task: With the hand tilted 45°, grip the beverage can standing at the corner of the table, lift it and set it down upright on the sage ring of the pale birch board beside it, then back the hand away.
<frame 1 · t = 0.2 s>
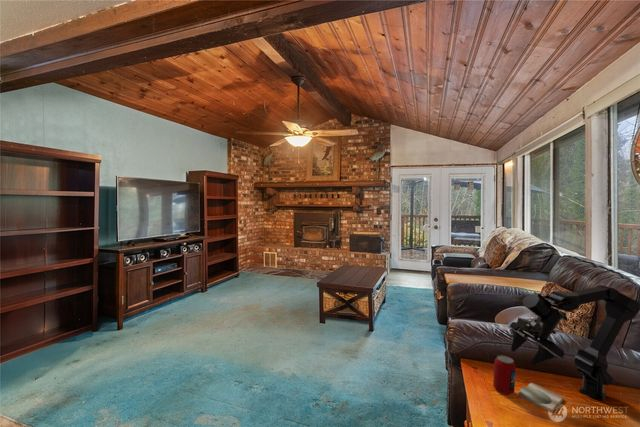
hand: (521, 357, 106), 14 cm above the table, tool tilted 35°, fingers open, 9 cm apart
beverage can: (503, 390, 109), on the table
birch board: (540, 397, 105), on the table
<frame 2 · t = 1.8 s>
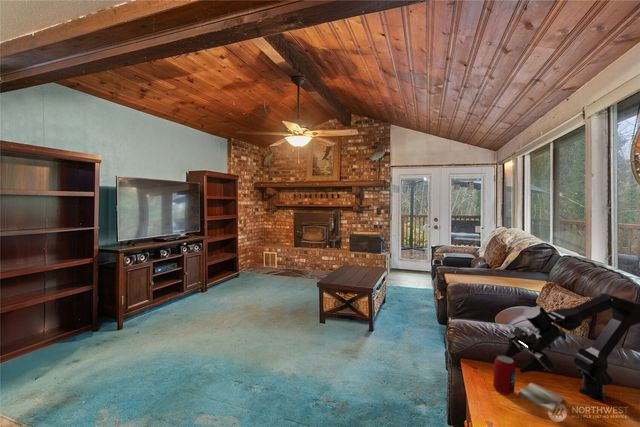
hand: (512, 364, 109), 10 cm above the table, tool tilted 45°, fingers open, 9 cm apart
nothing on the table moved.
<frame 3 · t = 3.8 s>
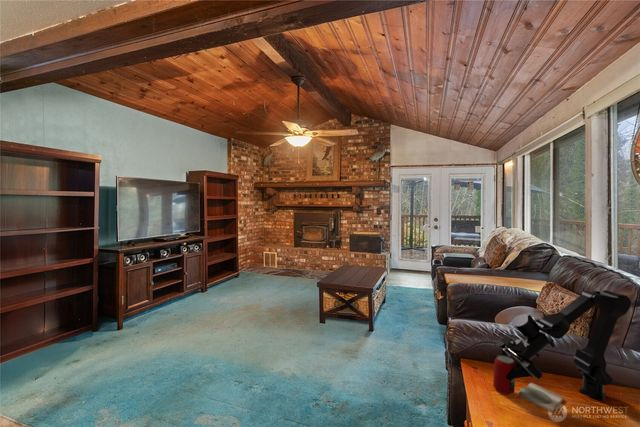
hand: (500, 372, 109), 7 cm above the table, tool tilted 45°, fingers closed on beverage can, 7 cm apart
beverage can: (503, 390, 109), on the table, touching gripper
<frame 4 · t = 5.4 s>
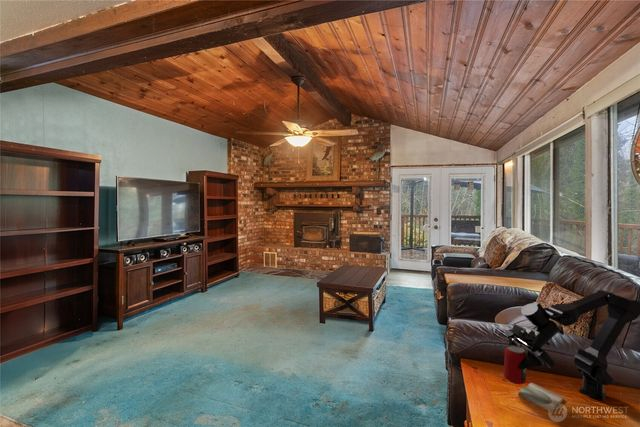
hand: (511, 363, 107), 11 cm above the table, tool tilted 45°, fingers closed on beverage can, 7 cm apart
beverage can: (514, 380, 107), point 4 cm above the table, touching gripper
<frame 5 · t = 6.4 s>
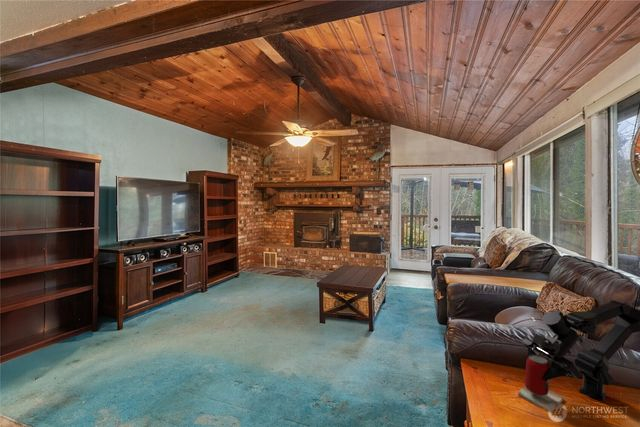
hand: (533, 373, 104), 9 cm above the table, tool tilted 45°, fingers closed on beverage can, 7 cm apart
beverage can: (536, 391, 105), point 2 cm above the table, touching gripper
when the fingers open (9 cm above the table, at t = 7.4 s): beverage can stays where it is, resting on birch board.
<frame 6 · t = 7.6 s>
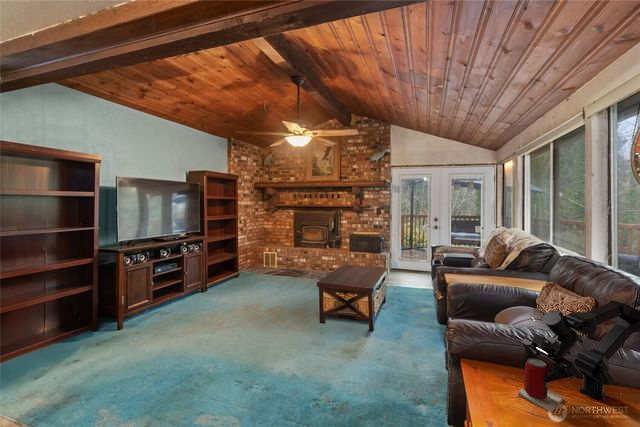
hand: (533, 373, 104), 9 cm above the table, tool tilted 45°, fingers open, 9 cm apart
beverage can: (535, 395, 105), point 1 cm above the table, touching birch board
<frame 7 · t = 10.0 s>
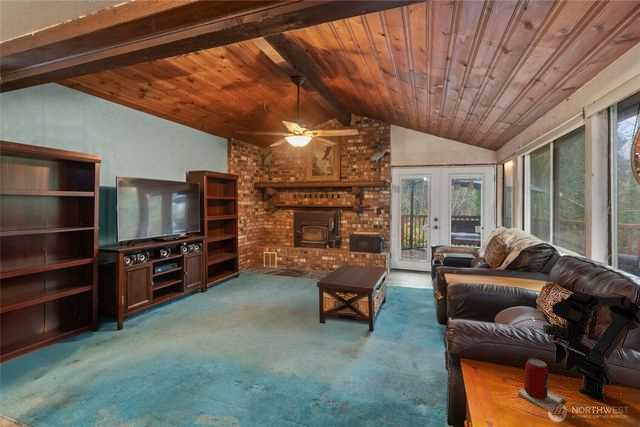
hand: (561, 366, 104), 13 cm above the table, tool tilted 25°, fingers open, 9 cm apart
nothing on the table moved.
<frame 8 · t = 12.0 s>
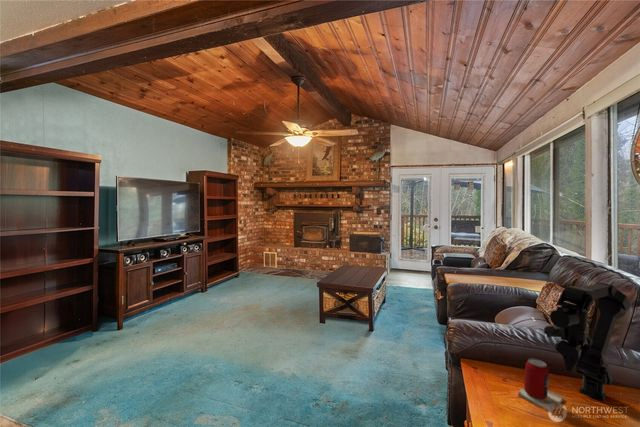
hand: (572, 366, 103), 13 cm above the table, tool pointing down, fingers open, 9 cm apart
nothing on the table moved.
at the end: beverage can inside the target area on the birch board (1.9 cm from its centre), point 0.9 cm above the birch board's base; beverage can tilted 0°; the gripper is holding nothing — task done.
